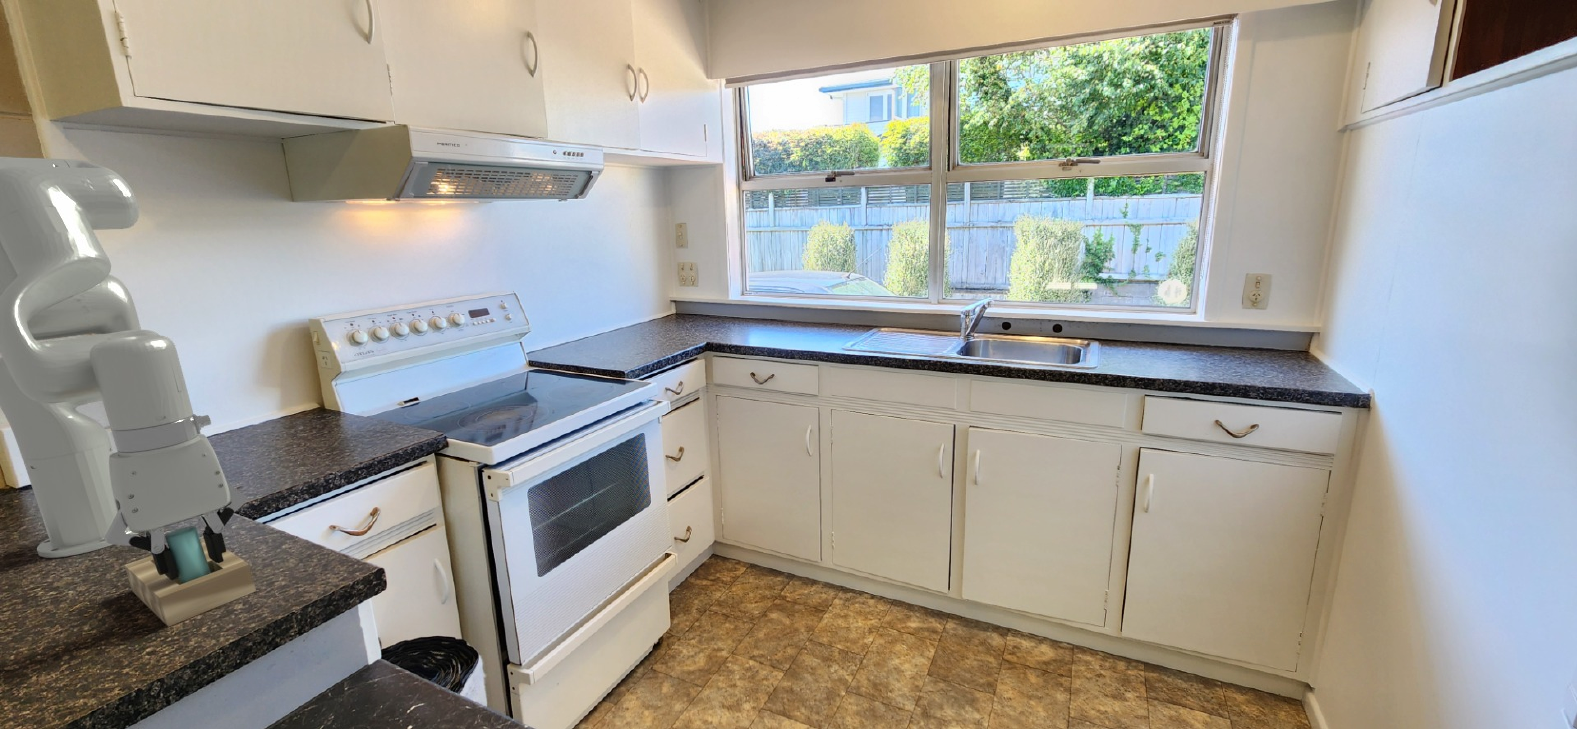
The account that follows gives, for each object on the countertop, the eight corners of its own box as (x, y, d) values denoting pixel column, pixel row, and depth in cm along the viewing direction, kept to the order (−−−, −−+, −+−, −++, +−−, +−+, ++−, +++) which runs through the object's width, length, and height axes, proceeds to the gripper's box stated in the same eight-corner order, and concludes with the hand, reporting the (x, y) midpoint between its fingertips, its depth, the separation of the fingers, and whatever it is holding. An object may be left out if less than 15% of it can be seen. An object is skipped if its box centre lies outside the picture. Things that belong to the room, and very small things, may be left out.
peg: (185, 603, 87) (161, 534, 84) (213, 591, 89) (191, 524, 87) (192, 609, 85) (169, 540, 83) (221, 597, 87) (199, 529, 85)
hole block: (132, 591, 90) (124, 565, 89) (215, 561, 97) (208, 536, 96) (168, 626, 81) (159, 597, 80) (256, 591, 88) (249, 564, 88)
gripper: (229, 413, 91) (260, 534, 95) (53, 452, 77) (98, 591, 81) (250, 420, 87) (281, 547, 91) (67, 462, 73) (114, 609, 77)
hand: (194, 566), depth 86 cm, fingers open, 4 cm apart
